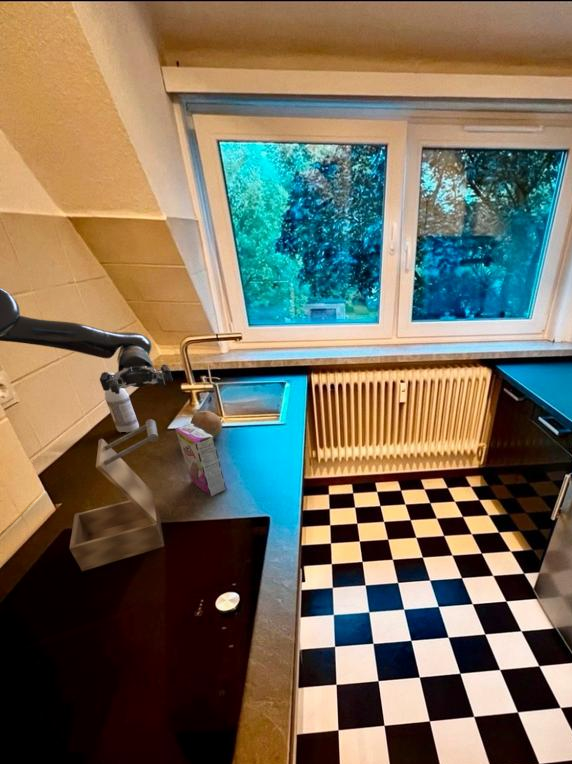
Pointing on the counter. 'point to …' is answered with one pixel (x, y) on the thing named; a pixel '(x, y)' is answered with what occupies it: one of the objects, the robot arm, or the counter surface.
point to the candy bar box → (201, 459)
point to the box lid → (128, 470)
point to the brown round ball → (208, 422)
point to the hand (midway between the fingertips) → (138, 386)
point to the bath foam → (121, 410)
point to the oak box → (113, 534)
